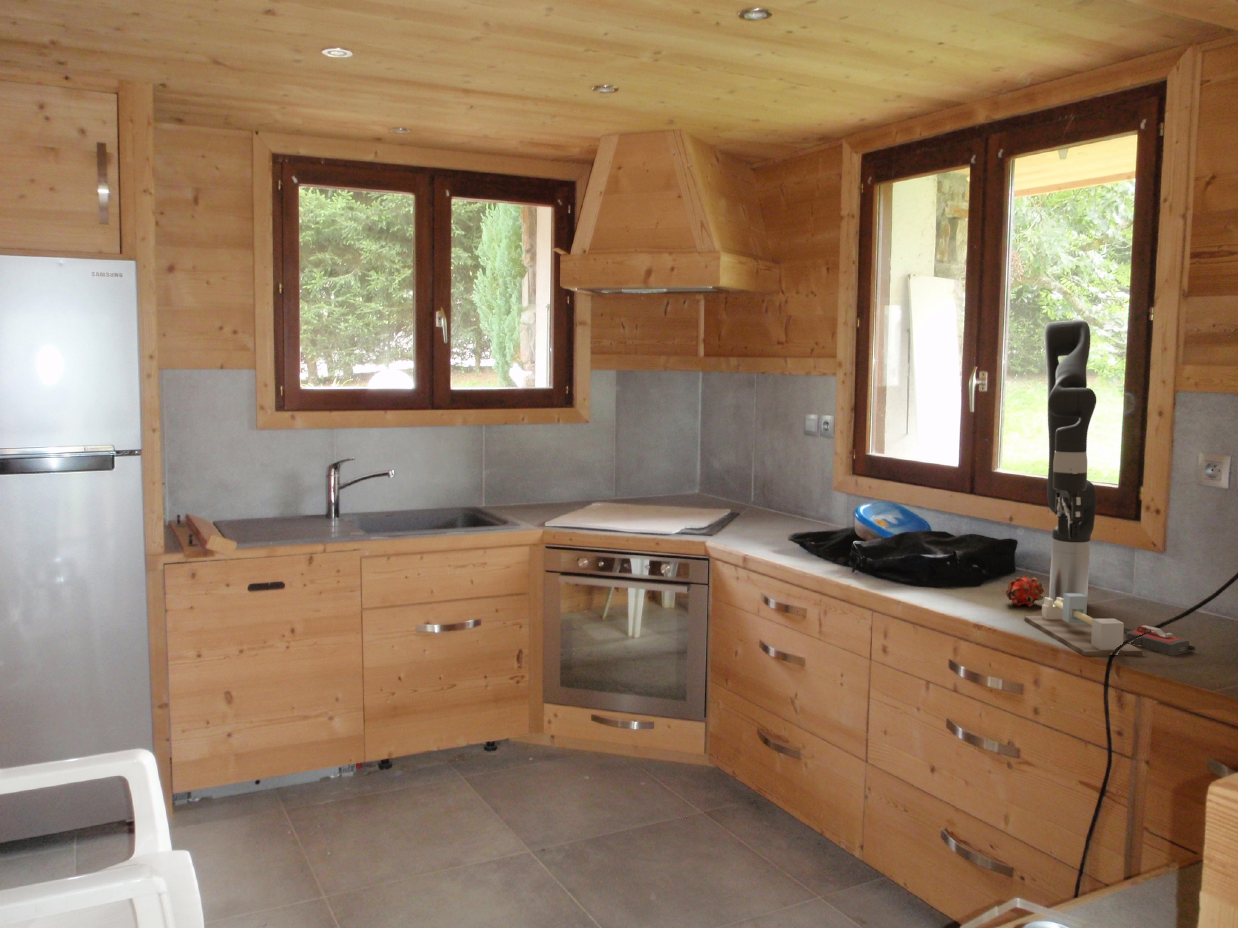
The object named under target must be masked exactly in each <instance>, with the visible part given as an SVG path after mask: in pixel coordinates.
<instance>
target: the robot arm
mask: <svg viewBox="0 0 1238 928" xmlns="http://www.w3.org/2000/svg"><path fill="white" fill-rule="evenodd" d="M1090 329H1091V328H1090V326H1089V323H1088V322H1087V321H1086V320H1082V319H1073V320H1062V321H1061V320H1060V321H1059V320H1058V321H1050V322H1047V323H1046V325H1045V328H1044V331H1043V332H1044V333H1043V339H1044V340H1043V341H1044V354H1045V366H1046V374H1047V375H1046V376H1047V429H1048V473H1047V486H1046V488H1047V489H1046V497H1047V498H1046V499H1047V504H1048V507H1049V509H1050V511H1051V512H1052V513H1053V514H1054V515H1055V516H1056V518H1057V525H1056V526H1055V527H1053V528H1052V529H1053V530H1052V534H1051V535H1052V536H1051V537H1052V539H1051V558H1050V560H1051V561H1050V572H1049V590H1048V591H1049V592H1048V597H1049V598H1051V599H1053V604H1054V602H1055V601H1056V597H1061V598H1063V596H1064V593H1081V594H1083V595H1085V596H1087V597H1088V592H1089V591H1088V589H1089V588H1088V587H1089V574H1090V573H1089V570H1090V556H1091V555H1090V553H1091V552H1090V549H1091V535H1092V533H1093V531H1094V528H1095V519H1096V508H1097V492H1096V488H1095V486H1094V484H1093V483H1092V482H1091V481H1090V480H1088V455H1087V453H1088V452H1087V443H1088V431H1089V426H1090V423H1091V420H1092V417H1093V414H1094V412H1095V408H1096V405H1097V395H1096V393H1095V391H1094V390H1093V389H1091V387H1090V388H1089V387H1087V386H1088V383H1087V382H1088V380H1087V365H1088V361H1089V356H1090V349H1091V330H1090ZM1064 356H1065V357H1064ZM1059 357H1064V358H1063V359H1062V360H1061V361H1060V362H1059Z"/></svg>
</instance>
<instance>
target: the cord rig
mask: <svg viewBox="0 0 1238 928" xmlns="http://www.w3.org/2000/svg"><path fill="white" fill-rule="evenodd" d="M1041 616H1042V617H1043V618H1044V619H1046V620H1048V619H1062V616H1063V598H1061V597H1056V601H1055V602H1054V603H1053V599H1051V598H1049V596H1048V597H1047V596H1046V597H1044V599H1043V604H1041ZM1072 616H1075V617H1076V618H1078V619H1080V620H1082V621H1084V622H1086V623H1088V624H1090V625H1092V638H1091V645H1092V646H1094V647H1096V648H1098V649H1099V650H1115V649H1116V648H1117V647H1119V646H1120V645H1122V644H1123V641H1124V626H1125V623H1124V622H1122V621H1120V620H1118V619H1116V618H1093V617H1091V616H1090V615H1087V613H1086V614H1084V613H1082V612H1080V611H1078V610H1077V609H1072ZM1121 650H1123V648H1122V649H1121Z"/></svg>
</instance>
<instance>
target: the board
mask: <svg viewBox="0 0 1238 928" xmlns="http://www.w3.org/2000/svg"><path fill="white" fill-rule="evenodd" d="M1023 620H1024V621H1026V622H1027V623H1029V624H1030V625H1031V626H1033V627H1035V628H1037V629H1038V630H1040V631H1042V632H1043V633H1045V634H1046V635H1048V636H1050V637H1052V638H1053V639H1055V640H1057V641H1058V642H1060V643H1062V644H1064V645H1065V646H1067V647H1069V648H1071V649H1073V650H1074V651H1075V650H1076V652H1077V653H1079V654H1080V655H1082V656H1083V657H1101V656H1102V657H1104V656H1105V657H1107V656H1108V657H1109V655H1110V654H1111V653H1113V652H1114V650H1099V649H1098V648H1096V647H1094V646H1092V645H1091V638H1092V625H1090V624H1088V623H1067V622H1066V621H1064V620H1062V619H1048V620H1046V619H1044V618H1043V617H1042V615H1040V616H1039V615H1035V616H1033V615H1028V616H1026V615H1025V616H1024V618H1023ZM1124 641H1125V640H1123V642H1124ZM1143 653H1144V650H1143V649H1140V648H1138V647H1136V646H1135V645H1133V644H1127V645H1126V646H1125V647H1124V648H1123V650H1120V651H1119V653H1118V657H1119V655H1127V656H1143Z"/></svg>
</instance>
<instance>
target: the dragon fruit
mask: <svg viewBox="0 0 1238 928" xmlns="http://www.w3.org/2000/svg"><path fill="white" fill-rule="evenodd" d="M1007 586H1008V587H1007V590H1006V591H1005V595H1006V596H1007V598H1008V600H1009V601H1011V603H1010V605H1011V606H1016V607H1020V606H1022V605H1026V606H1027V607H1029V608H1031V606H1033V605H1036V604H1035V602H1036V601H1041V600H1044V599H1043V598H1044V596H1043V595H1042V594H1044V592H1045V590H1044V588H1043V585H1042V582H1041V581H1040V580H1039V581H1038V578H1037V577H1032V578H1030V577H1028V575H1026V574H1024V575H1023V577H1019V576H1018V577H1016V578H1015V579H1014V580H1011V581H1010V582H1009V583H1008V585H1007Z"/></svg>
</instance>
